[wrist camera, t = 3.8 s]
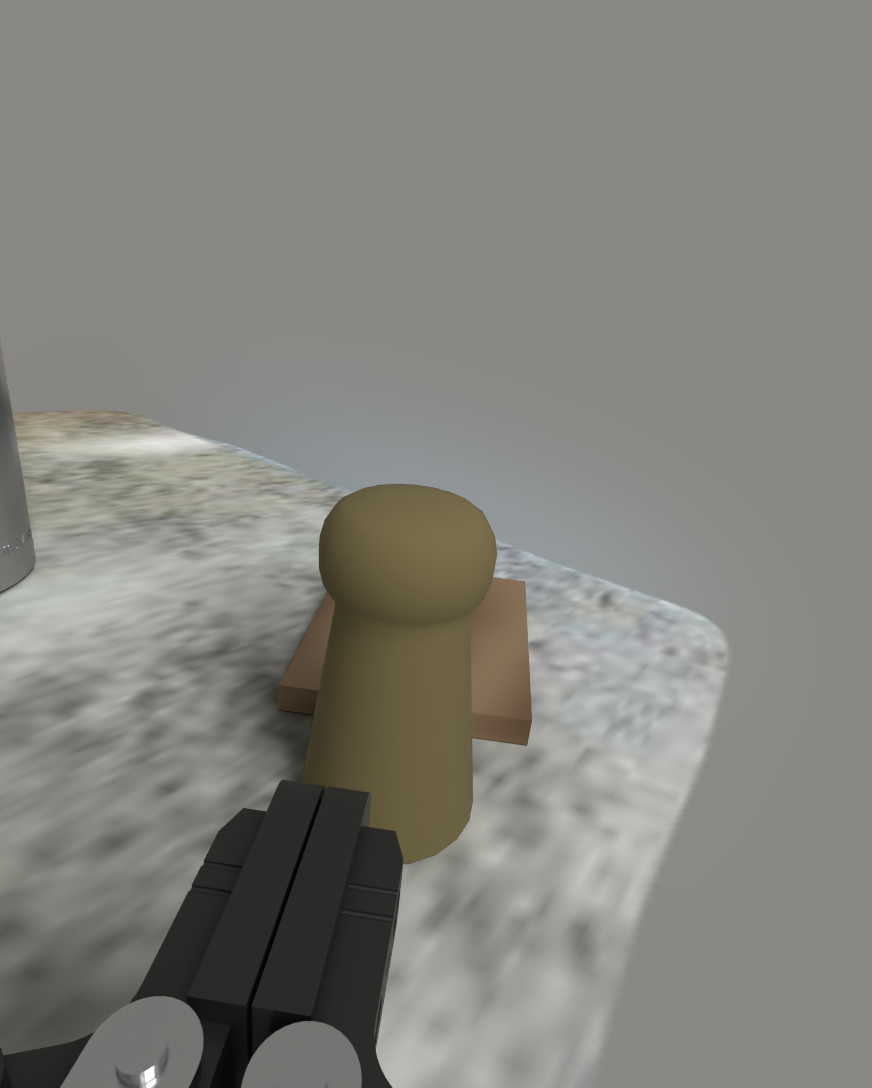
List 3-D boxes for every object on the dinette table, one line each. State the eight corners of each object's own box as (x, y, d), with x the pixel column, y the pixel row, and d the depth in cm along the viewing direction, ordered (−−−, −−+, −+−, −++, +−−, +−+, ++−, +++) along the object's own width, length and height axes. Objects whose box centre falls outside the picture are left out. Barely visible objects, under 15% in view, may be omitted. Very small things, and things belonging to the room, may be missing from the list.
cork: (475, 873, 21) (529, 552, 16) (280, 856, 21) (281, 528, 16) (470, 741, 26) (510, 474, 22) (316, 727, 26) (324, 456, 22)
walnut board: (278, 709, 27) (278, 684, 26) (344, 577, 38) (345, 558, 37) (527, 745, 26) (531, 720, 26) (521, 600, 37) (524, 581, 37)
